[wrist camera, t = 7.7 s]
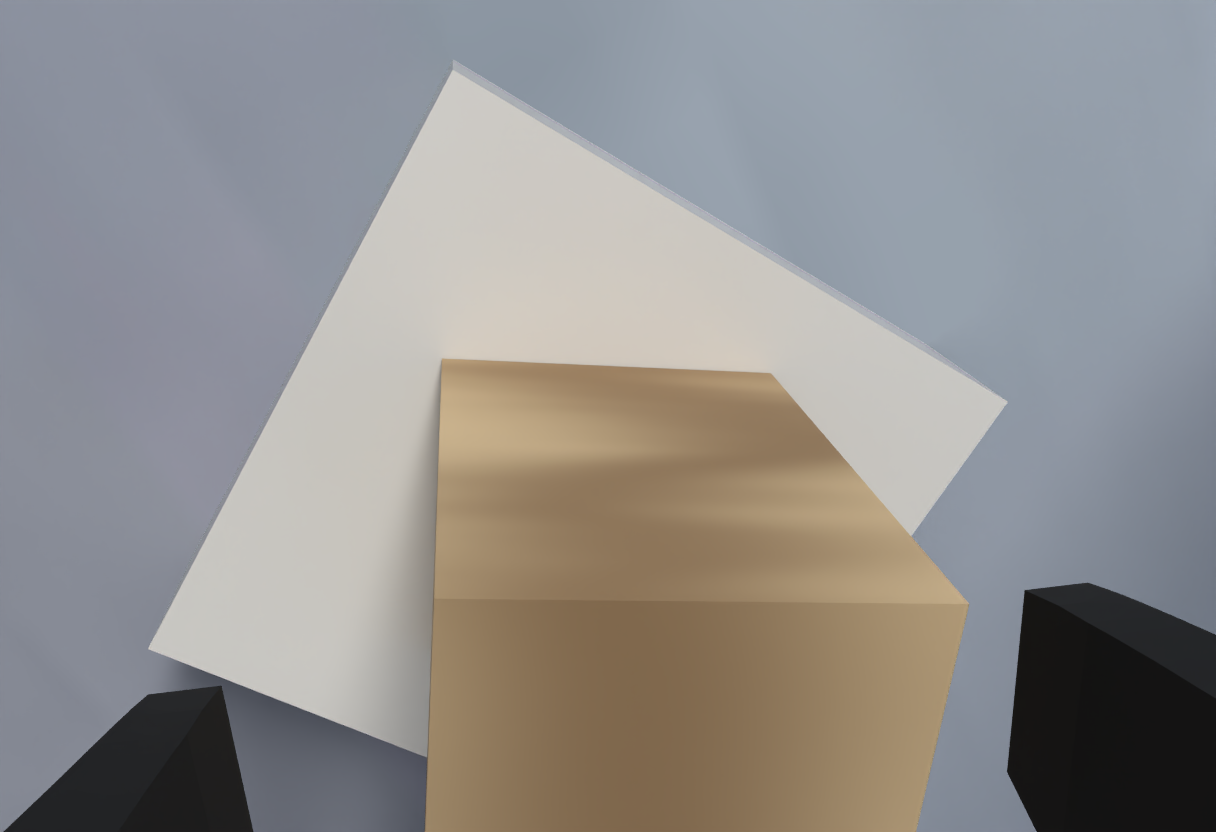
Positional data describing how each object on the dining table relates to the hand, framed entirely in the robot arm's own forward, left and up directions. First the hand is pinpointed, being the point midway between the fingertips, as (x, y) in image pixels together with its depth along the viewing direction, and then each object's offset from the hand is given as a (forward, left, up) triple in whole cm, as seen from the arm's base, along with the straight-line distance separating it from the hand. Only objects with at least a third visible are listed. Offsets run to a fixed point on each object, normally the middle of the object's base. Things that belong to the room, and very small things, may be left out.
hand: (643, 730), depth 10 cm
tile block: (0, 0, -7) cm, 7 cm away
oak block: (0, 0, -4) cm, 4 cm away
